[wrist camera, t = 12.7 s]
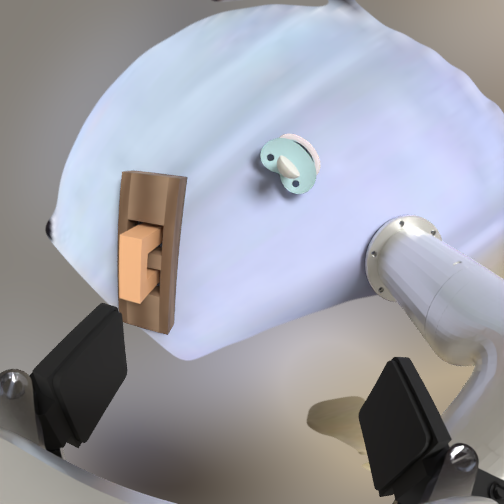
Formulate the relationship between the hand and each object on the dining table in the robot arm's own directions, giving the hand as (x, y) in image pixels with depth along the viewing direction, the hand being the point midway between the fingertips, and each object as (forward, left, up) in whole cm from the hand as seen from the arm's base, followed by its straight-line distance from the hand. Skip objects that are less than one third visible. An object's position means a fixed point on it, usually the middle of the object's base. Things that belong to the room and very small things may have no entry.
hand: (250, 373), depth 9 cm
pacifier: (-2, -7, -29) cm, 30 cm away
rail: (+15, +8, -28) cm, 33 cm away
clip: (+15, +8, -28) cm, 33 cm away
